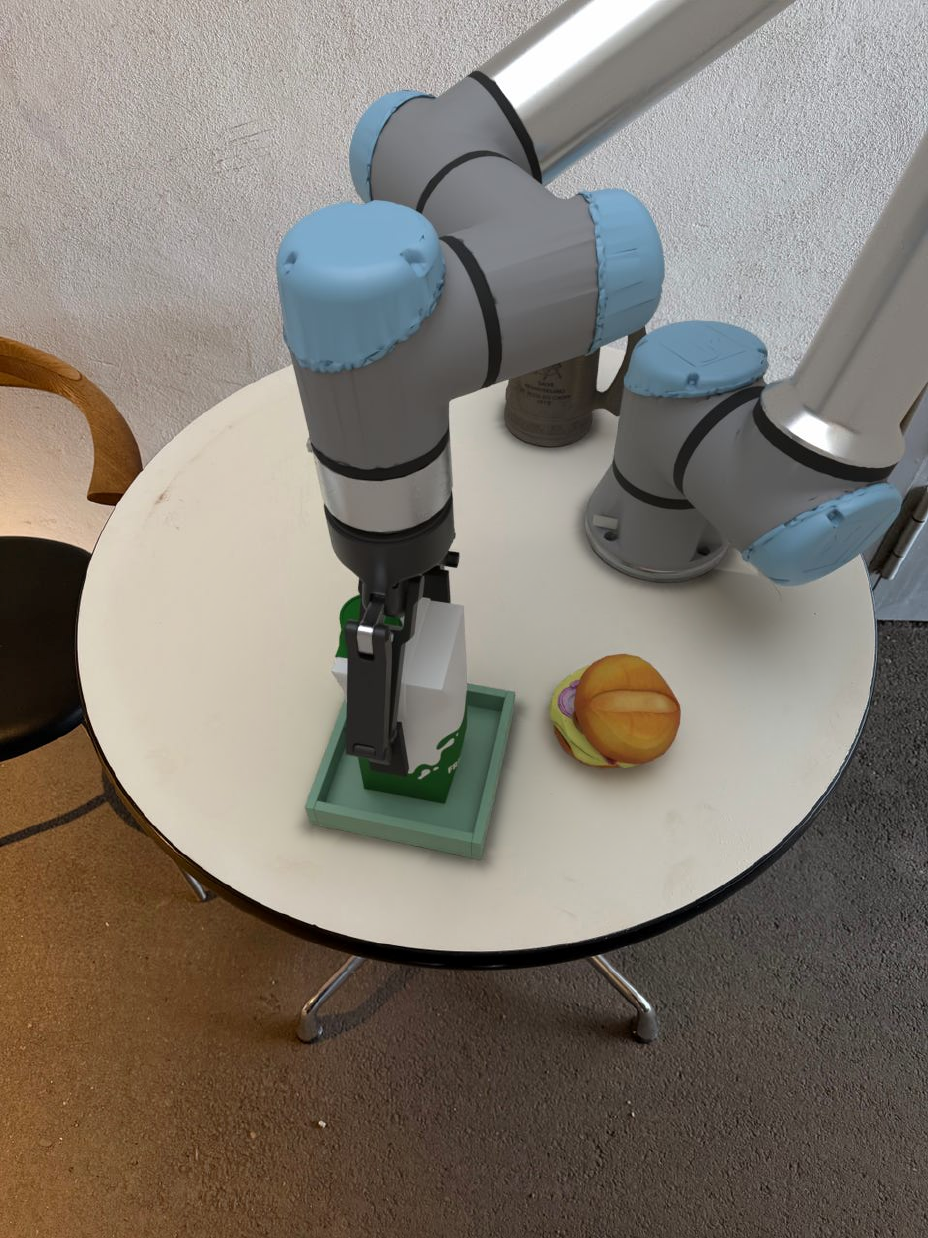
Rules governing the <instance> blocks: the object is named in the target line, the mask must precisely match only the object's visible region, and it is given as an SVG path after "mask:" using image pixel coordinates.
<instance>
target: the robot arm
mask: <svg viewBox="0 0 928 1238" xmlns="http://www.w3.org/2000/svg"><path fill="white" fill-rule="evenodd" d="M797 1H798V0H565V1H564V2H563V3H561V4H560V5H558V6H557V7H556V8H555V9H553V10H552V11H551V12H550V13H548V14H547V15H546V16H544V17H543V18H541V19H540V20H539V21H537V22H536V23H535V24H533V25H532V26H531V27H529V28H528V29H527V30H526V31H525V32H523V33H522V34H520V35H519V36H518V37H516V38H515V39H514V40H513V41H511V42H510V43H508V45H506V46H505V47H503V48H502V49H501V50H499V51H498V52H497V53H495V54H494V55H493V56H491V57H490V58H489V59H488V60H486V61H484V63H482V64H481V65H479V66H478V67H477V68H476V69H475V70H472V71H471V73H469V74H468V75H466V76H465V77H463V78H462V79H461V80H459V81H458V82H456V83H455V84H453V85H452V86H450V87H449V88H448V89H446V90H445V91H443V92H442V93H441V94H440V95H438V96H435V95H434V94H431V93H425V92H423V91H420V90H415V89H402V90H397V91H393V92H387V93H386V94H384V95H382V96H380V97H378V98H377V99H376V100H375V101H374V102H372V103H371V104H370V106H368V107H367V108H366V110H365V111H364V112H363V114H362V115H361V117H360V118H359V120H358V121H357V124H356V126H355V127H354V131H353V134H352V137H351V139H350V144H349V148H348V149H349V150H348V165H349V172H350V176H351V181H352V184H353V187H354V190H355V193H356V194H357V196H358V197H359V198H360V199H361V200H362V202H363V203H359V204H358V203H354V202H353V201H349V200H348V201H342V202H338V203H334V204H331V205H327V206H325V207H321V208H319V209H317V210H315V211H313V212H311V213H309V214H307V215H306V216H304V217H303V218H300V220H298V221H297V222H295V224H294V225H293V226H291V228H290V229H289V230H287V232H286V233H285V235H284V236H283V238H282V240H281V242H280V244H279V247H278V249H277V252H276V260H275V272H276V273H275V274H276V280H277V291H278V296H279V297H278V298H279V304H280V311H281V318H282V336H283V341H284V343H285V345H286V347H287V348H288V351H289V356H290V359H291V363H292V367H293V372H294V377H295V379H296V385H297V388H298V392H299V393H298V394H299V397H300V402H301V406H302V410H303V414H304V415H303V416H304V419H305V422H306V427H307V431H308V438H307V441H306V444H305V446H306V450H307V452H308V453H311V454H312V456H313V460H314V465H315V470H316V474H317V480H318V485H319V489H320V494H321V498H322V501H323V511H324V516H325V520H326V525H327V529H328V534H329V539H330V543H331V547H332V549H333V552H334V555H335V556H336V557H337V559H338V560H339V561H340V563H341V564H342V565H344V566H345V567H346V568H347V569H348V570H349V571H350V572H352V573H353V574H354V576H356V577H357V578H358V584H357V592H358V595H359V594H360V596H361V602H360V613H359V621H357V620H351V619H349V620H348V621H347V623H346V625H345V628H344V633H345V643H346V649H347V713H346V727H345V728H344V732H345V734H346V746H345V748H346V755H350V756H355V757H360V758H365V759H368V762H369V766H370V770H371V771H376V772H381V773H386V774H391V775H396V776H401V777H407V774H408V771H409V764H408V758H407V751H406V745H405V739H404V733H403V726H402V722H398V721H397V717H398V708H399V699H400V690H401V681H402V672H403V663H404V654H405V645H406V642H408V641H409V640H410V639H411V638H412V637H413V636H414V633H415V625H416V616H417V607H418V602H419V600H420V599H421V598H422V597H424V598H429V599H430V600H431V601H437V602H444V603H450V604H452V599H451V582H450V570H449V569H445V567H446V568H447V567H448V568H452V569H458V567H459V563H460V558H461V556H460V552H459V551H453V550H450V549H451V547H452V545H453V543H454V540H456V537H457V533H456V529H455V515H454V513H455V512H454V495H453V488H454V480H453V478H454V477H453V463H452V462H453V461H452V447H451V446H452V445H451V429H450V425H451V423H450V402H451V401H453V400H455V399H458V398H461V397H464V396H467V395H470V394H473V393H475V392H478V391H480V390H483V389H487V388H490V387H491V386H494V385H496V384H500V383H503V382H505V381H508V380H509V379H512V378H515V377H518V376H521V375H524V374H527V373H530V372H533V371H536V370H539V369H542V368H545V367H548V366H551V365H554V364H557V363H560V362H563V361H566V360H568V359H571V358H574V357H577V356H580V355H583V354H584V355H585V356H586V355H589V354H591V353H592V354H593V353H594V352H595V350H597V349H598V348H600V347H601V348H602V347H604V346H607V345H609V344H611V343H614V342H616V341H618V340H620V339H623V338H625V337H628V335H630V334H632V333H634V332H636V331H638V330H640V329H641V328H643V327H644V326H645V327H646V325H647V324H648V323H649V322H650V321H651V320H652V318H653V317H654V315H655V314H656V312H657V310H658V308H659V306H660V303H661V299H662V293H663V283H664V280H665V278H666V277H665V275H666V274H665V273H666V268H665V267H666V265H665V256H664V255H665V254H664V249H663V244H662V240H661V237H660V233H659V231H658V228H657V225H656V222H655V221H654V219H653V217H652V215H651V213H650V211H649V210H648V208H647V207H646V206H645V204H644V203H643V202H642V201H641V200H640V199H639V198H638V197H637V196H635V195H634V194H632V193H631V192H629V191H628V190H625V189H624V188H617V187H614V188H609V187H607V188H603V189H597V190H592V191H588V190H586V189H584V190H580V191H578V193H575V194H574V195H573V196H571V197H569V198H561V197H558V196H556V195H555V194H554V193H552V191H550V190H549V189H548V188H547V186H548V185H550V184H551V183H552V182H554V181H555V180H557V178H559V177H561V176H562V175H563V174H564V173H566V172H567V171H568V170H570V169H572V168H573V167H574V166H575V165H577V164H578V163H580V162H581V161H582V160H583V159H585V158H586V157H587V156H589V155H590V154H591V153H593V152H594V151H595V150H597V149H598V148H600V147H601V146H602V145H603V144H605V143H606V142H608V141H609V140H610V139H612V138H613V137H615V136H616V135H617V134H619V133H620V132H621V131H623V130H624V129H626V128H627V127H628V126H629V125H631V124H632V123H633V122H635V121H636V120H637V119H639V118H640V117H641V116H643V115H644V114H646V113H647V112H648V111H650V110H651V109H653V108H654V107H656V105H658V104H659V103H661V102H662V101H663V100H665V99H666V98H668V96H670V95H671V94H673V93H674V92H675V91H677V90H678V89H679V88H681V87H682V86H683V85H684V84H686V83H687V82H689V81H690V80H691V79H693V78H694V77H696V76H698V74H700V73H701V72H702V71H704V70H706V68H708V67H709V66H710V65H712V64H713V63H714V62H716V61H717V60H719V59H720V58H721V57H722V56H724V55H725V54H727V53H728V52H729V51H731V50H732V49H733V48H734V47H736V46H737V45H739V44H740V43H741V42H742V41H744V40H745V39H747V38H748V37H750V36H751V35H752V34H754V33H755V32H756V31H758V30H759V29H761V28H762V27H763V26H765V25H766V24H767V23H769V22H770V21H771V20H772V19H774V18H775V17H776V16H778V15H779V14H781V13H782V12H783V11H784V10H786V9H787V8H789V7H790V6H792V5H793V4H794V3H795V2H797ZM892 190H893V191H891V194H890V195H889V197H888V199H887V201H886V203H885V205H884V206H883V208H882V211H880V212H881V213H880V214H879V216H878V218H877V219H876V221H875V223H874V225H873V227H872V229H871V230H870V233H869V234H868V236H867V238H866V239H865V242H864V244H863V246H862V247H861V249H860V251H859V253H858V254H857V257H856V258H855V260H854V261H853V264H852V266H851V268H850V270H849V271H848V273H847V275H846V277H845V279H844V280H843V282H842V284H841V286H840V288H839V290H838V292H837V293H836V295H835V297H834V299H833V301H832V303H831V304H830V307H829V308H828V310H827V312H826V314H825V315H824V317H823V319H822V321H821V323H820V325H819V327H818V329H817V330H816V332H815V334H814V336H813V337H812V339H811V342H810V343H809V345H808V347H807V349H806V350H805V353H804V354H803V357H802V358H801V360H800V362H799V364H798V365H797V368H796V369H795V371H794V373H793V374H792V375H789V376H786V377H783V378H779V379H775V380H773V381H771V382H769V383H767V382H766V381H765V378H764V376H765V375H766V374H767V371H768V369H769V366H770V364H769V360H768V357H769V352H768V351H769V350H768V349H767V345H766V344H765V342H763V341H762V339H761V338H759V336H757V335H756V334H754V333H753V332H751V331H749V330H748V329H745V328H743V327H740V326H739V325H734V324H731V323H728V322H723V321H716V320H701V319H700V320H699V319H698V320H695V319H694V320H693V319H692V320H683V321H676V322H672V323H668V324H666V325H663V326H659V327H657V328H655V329H653V330H651V331H650V332H649V333H646V335H645V336H644V337H643V338H642V339H641V340H640V341H639V342H638V343H637V345H636V346H635V348H634V350H633V352H632V355H631V360H630V364H629V368H628V372H627V373H626V375H625V377H624V389H623V395H622V402H621V409H620V416H619V417H618V423H617V429H616V435H615V443H614V450H613V455H612V461H611V464H610V465H609V467H608V468H607V470H606V472H605V473H604V475H603V476H602V478H601V479H600V481H599V482H598V484H597V486H596V488H595V489H594V490H593V492H592V494H591V496H590V499H589V500H588V503H587V507H586V512H585V521H584V528H585V532H586V537H587V540H588V541H589V542H588V543H589V544H590V545H591V547H592V549H593V550H594V551H595V553H596V554H597V555H598V556H599V557H600V558H601V559H602V560H603V561H604V562H606V563H607V564H608V565H609V566H611V567H613V569H616V570H617V571H620V572H621V573H623V574H626V575H628V576H631V577H633V578H637V579H640V580H644V581H650V582H656V583H657V582H658V583H674V582H682V581H687V580H692V579H694V578H697V577H700V576H702V575H704V574H706V573H708V572H709V571H711V570H712V569H713V568H715V567H716V566H717V565H718V564H719V563H720V561H722V559H723V557H724V556H725V555H726V552H727V550H728V546H729V544H731V545H732V546H733V547H734V548H735V549H736V550H737V551H738V552H739V553H740V554H741V559H742V560H743V561H744V562H746V563H748V564H751V565H752V566H753V567H754V568H755V569H756V570H758V572H760V573H761V574H762V575H763V576H764V577H765V578H766V579H767V580H769V581H770V582H772V583H773V584H776V585H778V586H783V587H797V586H801V585H807V584H809V583H812V582H814V581H817V580H819V579H821V578H824V577H826V576H828V575H830V574H831V573H834V572H836V571H837V570H838V569H840V568H842V567H843V566H845V565H846V564H848V563H849V562H851V561H852V560H854V559H856V557H859V555H861V554H862V553H863V552H865V550H867V549H868V548H869V547H871V546H872V545H873V544H874V543H875V542H876V541H877V540H879V538H880V537H881V536H882V535H883V534H885V532H886V531H887V530H888V529H889V528H890V527H891V526H892V524H894V522H895V521H896V519H897V518H898V516H899V514H900V512H901V508H902V504H903V497H902V494H901V493H900V491H899V489H898V488H897V484H896V483H892V482H888V480H889V477H890V475H891V474H892V473H893V471H894V470H895V468H896V467H897V465H898V464H899V462H900V461H901V459H902V458H903V457H904V455H905V453H906V443H905V438H904V435H903V432H902V429H901V426H900V424H901V422H902V421H903V419H904V417H905V416H906V415H907V413H908V411H910V408H911V407H912V406H913V404H914V402H916V399H917V398H918V397H919V395H920V394H921V392H922V391H923V389H925V386H926V385H927V383H928V126H927V127H926V129H925V131H924V133H923V134H922V137H921V139H920V140H919V142H918V144H917V146H916V148H915V150H914V151H913V153H912V154H911V156H910V158H909V161H908V162H907V164H906V166H905V168H904V170H903V171H902V174H901V175H900V177H899V179H898V181H897V182H896V184H895V186H894V188H893V189H892ZM385 616H388V617H394V618H402V617H404V625H403V627H400V626H394V625H388V624H383V623H384V619H385Z"/></svg>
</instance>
